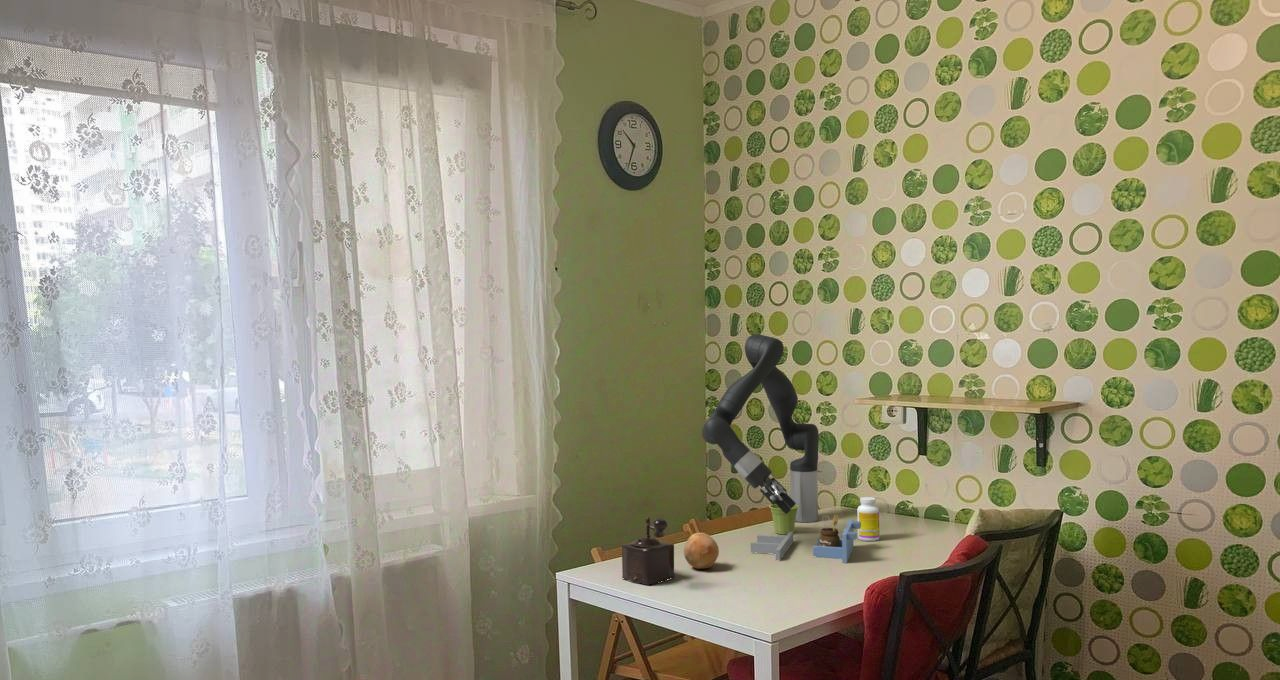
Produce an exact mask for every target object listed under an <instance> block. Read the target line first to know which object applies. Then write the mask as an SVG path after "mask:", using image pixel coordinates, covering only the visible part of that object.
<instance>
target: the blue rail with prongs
mask: <svg viewBox="0 0 1280 680" xmlns="http://www.w3.org/2000/svg"><path fill="white" fill-rule="evenodd" d="M860 528H861V522H859V521H857V520H854V519H849V520H848V522H847V524H846V525H845V528H844V530H843V531H842V534H841V538H840V547H828V546H820V537H818V538H817V545H813V546H812V557H813V556H816V557H815V558H822V557H828V558H827V559H838V558H841V560H842V564H848V561H849V559H850V556H851V554H852V552H851V551H853V548H854V547H855V546H854V541H856V540H857V539H858V533H857V531H854V530H858V529H860ZM853 546H854V547H853Z"/></svg>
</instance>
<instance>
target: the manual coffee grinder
mask: <svg viewBox="0 0 1280 680" xmlns="http://www.w3.org/2000/svg"><path fill="white" fill-rule="evenodd" d="M668 525H669V524H668V522H667V520H666V519H664V518H659V517H658V518H655V519H654V520H653V523H652V524H651V517H648V516H647V517H646V518H645V524H644V526H645V529H646V530H645V531H646V533H645V536H642V537H641V536H640V538H637V540H635V541H632V542H628V543H624V544H622V545H621V565H622V568H621V569H622V577H621V579H622V578H624V579H627V580H630V581H629V582H631V581H633V582H632V583H634V582H638V583H637V584H640V583H642V584H641V585H645V584H646V585H647V586H651V585H650V584H654V585H656V584H655V583H658V582H661V581H665V580H667V579H670V578H673V577H674V578H675V544H674V543H670V542H666V541H661V540H659V539H658V538H663V537H665V535H666V534H665V530H666V529H667V528H668ZM650 529H651V530H652V531H654V532H653V536H654V537H653V536H651V535H650ZM674 578H673V579H674ZM624 579H623V580H624ZM627 580H626V581H627ZM665 582H666V581H665ZM661 583H662V582H661ZM658 584H659V583H658Z"/></svg>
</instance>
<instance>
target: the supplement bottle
mask: <svg viewBox="0 0 1280 680" xmlns="http://www.w3.org/2000/svg"><path fill="white" fill-rule="evenodd" d="M859 500H860V501H859V502H860V505H859V506H858V507H857V511H856V513H857V516H856V517H857V518H856V519H857V520H856V521H859V522H861V528H860V529H857V539H859V541H863V542H877V541H878V540H880V508H879V507H878V506H876V501H877V499H876V498H875V497H872V496H862V497H860V499H859ZM876 540H877V541H876Z"/></svg>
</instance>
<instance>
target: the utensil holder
mask: <svg viewBox="0 0 1280 680" xmlns="http://www.w3.org/2000/svg"><path fill="white" fill-rule="evenodd" d="M825 517H827V519H828V521H827V519H822V522H821V524H822V526H823V527H822V528H821V529H820V536H819V538H820V546H828V547H840V539H841V538H840V535H839V533H840V531H839V529H837V528H836V525H838V521H839V514H834V515H833V521H832V525H833V527H828V526H826V524H824V520H825V523H830V520H831V518H830V516H827V514H824V515H822V516H821V518H825Z"/></svg>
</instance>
